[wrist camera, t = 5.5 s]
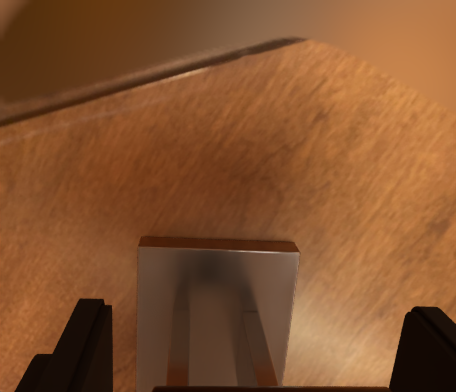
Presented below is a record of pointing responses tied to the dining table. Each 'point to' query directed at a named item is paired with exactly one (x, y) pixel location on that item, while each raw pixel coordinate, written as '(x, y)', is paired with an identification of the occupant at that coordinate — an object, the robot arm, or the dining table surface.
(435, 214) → the dining table surface
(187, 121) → the dining table surface
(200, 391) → the lever
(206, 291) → the bracket
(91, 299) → the robot arm
